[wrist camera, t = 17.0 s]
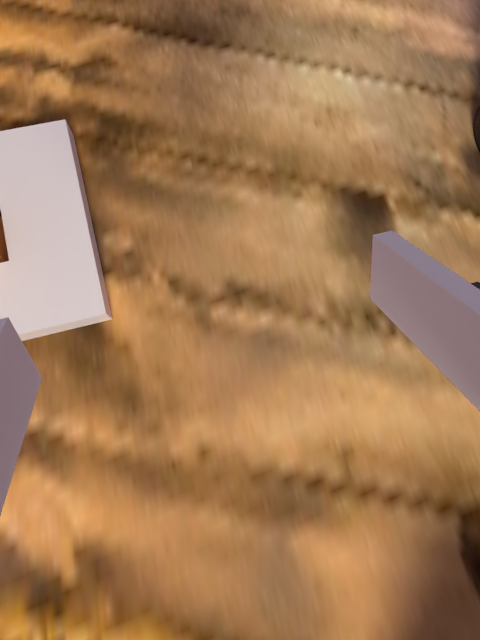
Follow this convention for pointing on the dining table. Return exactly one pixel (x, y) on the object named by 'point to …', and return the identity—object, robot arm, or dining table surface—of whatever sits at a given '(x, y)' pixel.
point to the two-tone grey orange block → (3, 244)
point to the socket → (47, 235)
